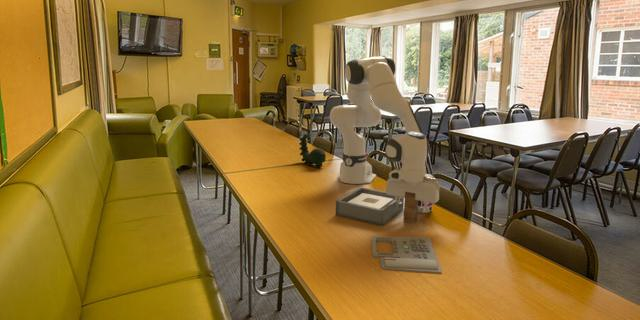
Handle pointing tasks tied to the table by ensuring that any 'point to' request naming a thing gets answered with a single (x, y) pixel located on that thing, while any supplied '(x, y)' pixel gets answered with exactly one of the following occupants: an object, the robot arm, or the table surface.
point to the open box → (368, 206)
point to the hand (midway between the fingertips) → (410, 209)
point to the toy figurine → (311, 153)
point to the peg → (410, 208)
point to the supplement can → (420, 203)
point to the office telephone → (408, 254)
